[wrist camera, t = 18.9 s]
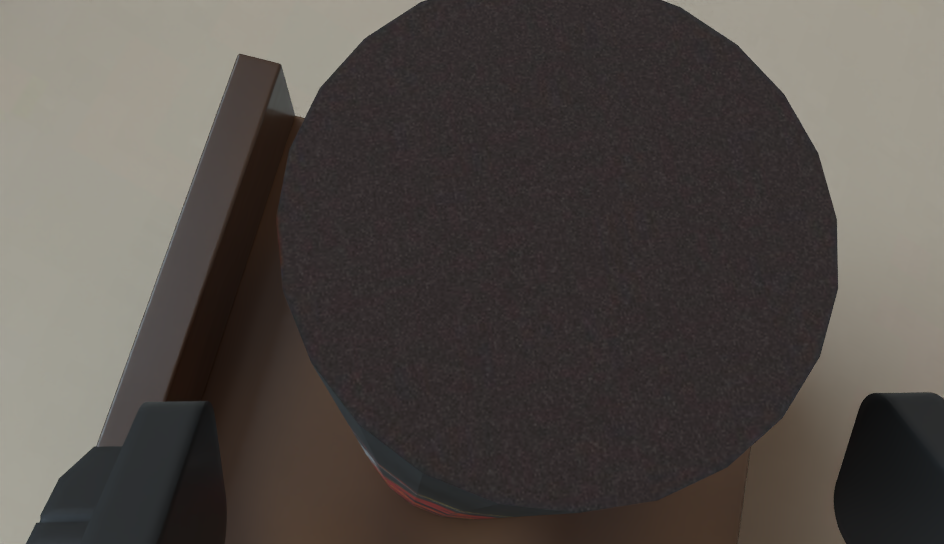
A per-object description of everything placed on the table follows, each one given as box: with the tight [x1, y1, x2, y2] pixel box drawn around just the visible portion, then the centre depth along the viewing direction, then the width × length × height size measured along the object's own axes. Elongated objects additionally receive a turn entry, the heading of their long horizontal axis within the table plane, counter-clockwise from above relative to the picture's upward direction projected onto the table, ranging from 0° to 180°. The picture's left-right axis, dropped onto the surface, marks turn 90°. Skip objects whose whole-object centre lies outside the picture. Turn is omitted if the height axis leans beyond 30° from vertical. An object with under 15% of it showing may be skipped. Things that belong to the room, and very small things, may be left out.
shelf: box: [96, 54, 751, 544], centre depth 26 cm, size 16×14×11 cm
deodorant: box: [276, 0, 838, 520], centre depth 16 cm, size 6×6×15 cm
